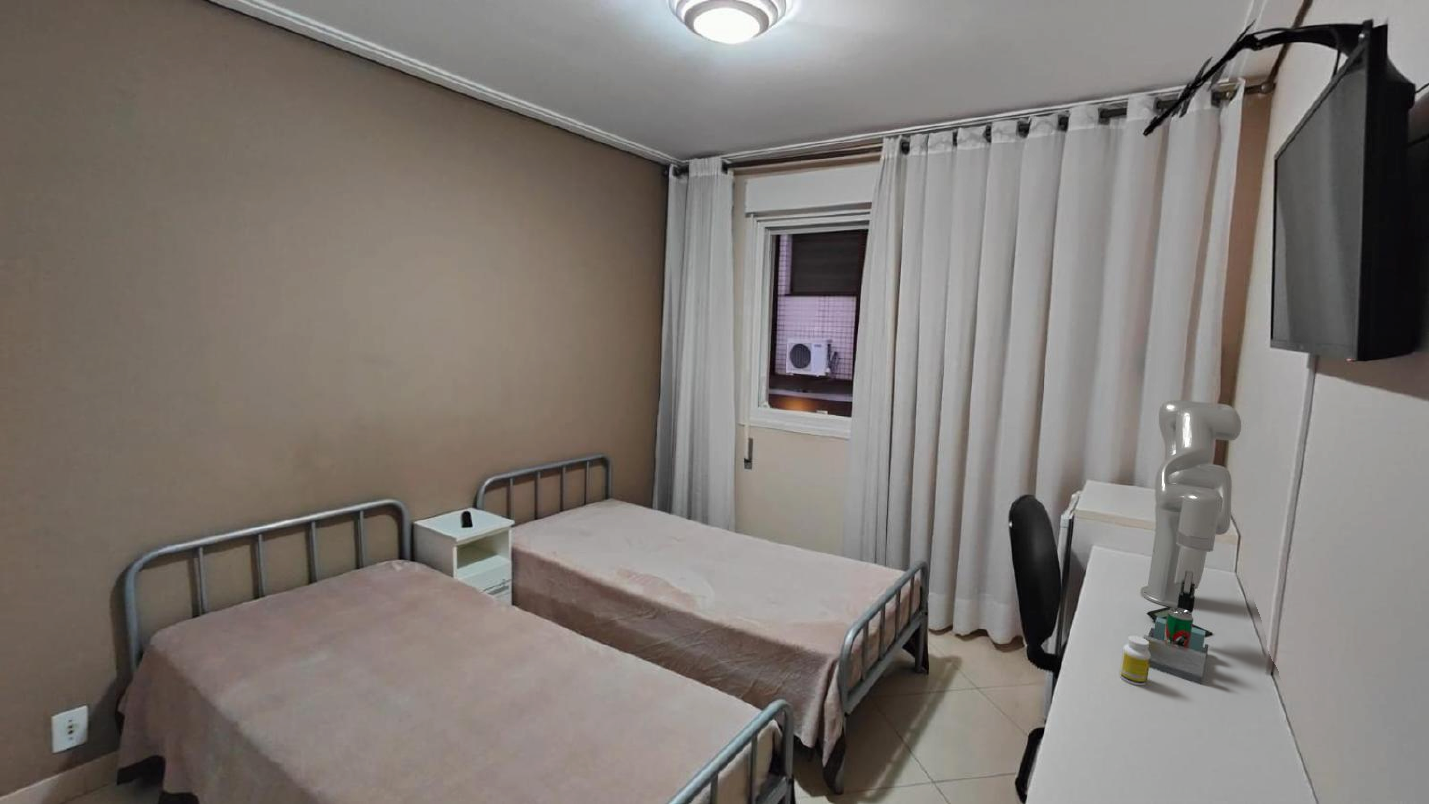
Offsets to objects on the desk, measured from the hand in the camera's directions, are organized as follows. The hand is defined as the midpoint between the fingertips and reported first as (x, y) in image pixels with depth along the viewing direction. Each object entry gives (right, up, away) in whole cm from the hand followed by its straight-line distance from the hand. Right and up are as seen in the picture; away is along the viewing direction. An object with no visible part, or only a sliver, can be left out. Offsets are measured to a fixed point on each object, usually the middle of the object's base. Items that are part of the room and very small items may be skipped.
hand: (1184, 609), depth 164 cm
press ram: (-4, -8, -3) cm, 9 cm away
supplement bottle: (-24, -11, -16) cm, 31 cm away
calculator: (+5, -8, +10) cm, 14 cm away
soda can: (-10, -9, -9) cm, 16 cm away
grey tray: (-8, -10, -7) cm, 14 cm away
